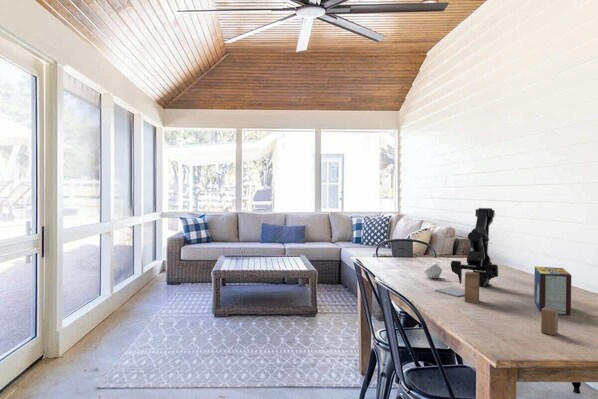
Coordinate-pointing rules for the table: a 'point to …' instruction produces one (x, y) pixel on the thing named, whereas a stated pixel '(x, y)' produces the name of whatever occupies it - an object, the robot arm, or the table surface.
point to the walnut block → (472, 287)
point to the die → (432, 270)
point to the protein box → (552, 289)
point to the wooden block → (549, 321)
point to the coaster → (452, 291)
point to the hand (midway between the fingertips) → (471, 284)
